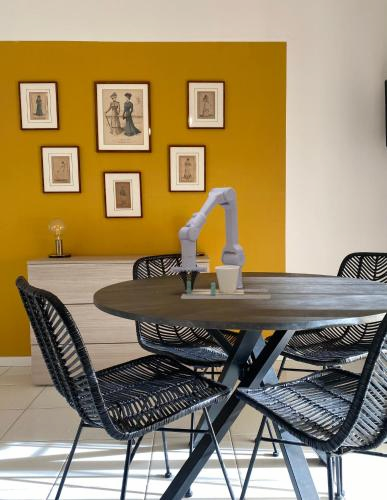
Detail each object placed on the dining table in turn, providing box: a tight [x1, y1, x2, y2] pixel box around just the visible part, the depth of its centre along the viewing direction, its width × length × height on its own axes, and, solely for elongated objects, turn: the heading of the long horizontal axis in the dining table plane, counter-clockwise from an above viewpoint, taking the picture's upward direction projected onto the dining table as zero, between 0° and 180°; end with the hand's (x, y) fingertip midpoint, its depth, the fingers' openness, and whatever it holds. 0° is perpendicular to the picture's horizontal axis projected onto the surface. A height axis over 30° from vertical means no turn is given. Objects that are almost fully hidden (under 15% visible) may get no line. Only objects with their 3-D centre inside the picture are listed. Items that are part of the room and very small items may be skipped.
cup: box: [214, 265, 240, 293], centre depth 202 cm, size 10×10×11 cm
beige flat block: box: [186, 279, 245, 294], centre depth 202 cm, size 11×23×6 cm, turn 85°
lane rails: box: [180, 282, 272, 300], centre depth 200 cm, size 17×34×6 cm, turn 85°
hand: (189, 290), depth 203 cm, fingers closed
